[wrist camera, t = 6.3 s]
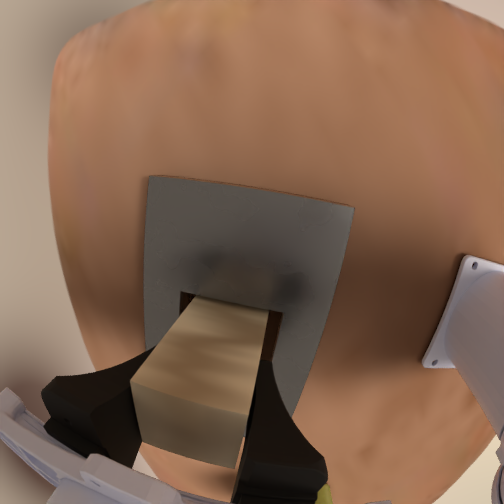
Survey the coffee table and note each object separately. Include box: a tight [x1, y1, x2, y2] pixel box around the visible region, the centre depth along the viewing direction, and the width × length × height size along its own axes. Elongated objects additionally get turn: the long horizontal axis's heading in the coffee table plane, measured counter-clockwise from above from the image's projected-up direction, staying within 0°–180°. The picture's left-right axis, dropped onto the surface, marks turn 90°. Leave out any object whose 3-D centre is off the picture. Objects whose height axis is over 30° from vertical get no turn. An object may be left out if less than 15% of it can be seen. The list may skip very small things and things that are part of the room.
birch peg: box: [130, 295, 269, 469], centre depth 12 cm, size 4×4×8 cm
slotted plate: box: [144, 175, 355, 437], centre depth 15 cm, size 10×17×2 cm, turn 171°
